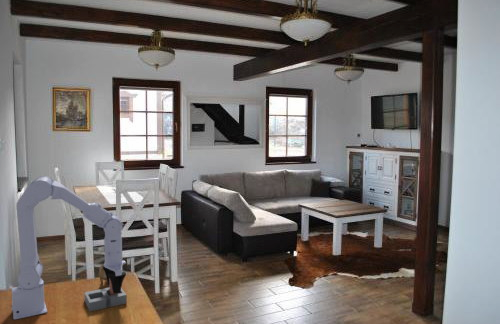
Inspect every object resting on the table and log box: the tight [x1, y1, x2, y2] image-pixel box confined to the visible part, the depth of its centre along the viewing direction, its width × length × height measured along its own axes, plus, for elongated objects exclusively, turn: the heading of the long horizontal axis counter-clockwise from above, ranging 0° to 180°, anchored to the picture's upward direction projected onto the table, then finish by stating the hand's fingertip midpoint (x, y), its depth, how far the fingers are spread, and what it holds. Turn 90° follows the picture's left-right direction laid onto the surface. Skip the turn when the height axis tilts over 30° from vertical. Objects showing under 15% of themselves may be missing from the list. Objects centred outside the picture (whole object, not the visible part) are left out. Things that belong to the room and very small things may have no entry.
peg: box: [109, 278, 119, 295], centre depth 144 cm, size 3×3×8 cm
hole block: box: [83, 286, 128, 312], centre depth 142 cm, size 12×9×3 cm
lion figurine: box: [98, 264, 110, 287], centre depth 159 cm, size 15×5×9 cm, turn 9°
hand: (114, 288), depth 144 cm, fingers open, 7 cm apart
